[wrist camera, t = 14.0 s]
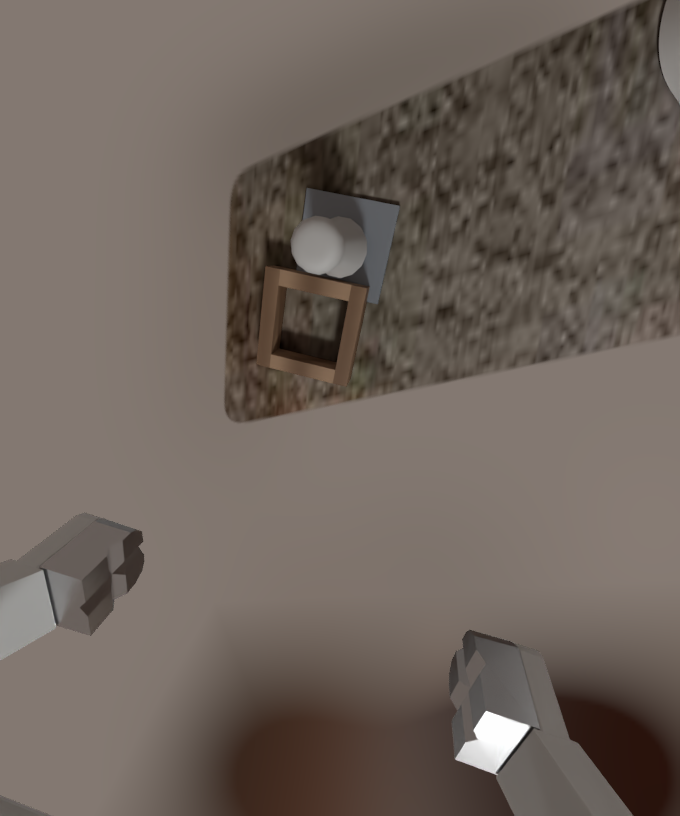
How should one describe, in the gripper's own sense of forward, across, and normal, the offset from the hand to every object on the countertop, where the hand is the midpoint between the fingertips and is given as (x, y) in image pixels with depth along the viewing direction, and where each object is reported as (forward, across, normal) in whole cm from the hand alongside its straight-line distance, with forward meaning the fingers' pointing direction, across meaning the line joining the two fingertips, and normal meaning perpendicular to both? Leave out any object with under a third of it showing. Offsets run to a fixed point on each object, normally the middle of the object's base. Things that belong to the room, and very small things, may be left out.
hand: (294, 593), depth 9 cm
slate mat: (+37, +7, -7) cm, 38 cm away
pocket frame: (+37, +9, +2) cm, 38 cm away
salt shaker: (+37, +7, -7) cm, 38 cm away
